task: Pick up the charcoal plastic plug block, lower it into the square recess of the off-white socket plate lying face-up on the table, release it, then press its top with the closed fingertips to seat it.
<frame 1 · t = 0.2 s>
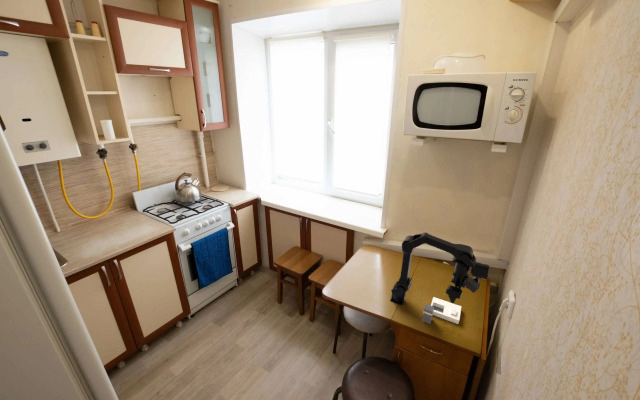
hand: (454, 297, 135), 14 cm above the table, fingers open, 9 cm apart
socket plate: (444, 311, 145), on the table
plug: (426, 320, 139), on the table
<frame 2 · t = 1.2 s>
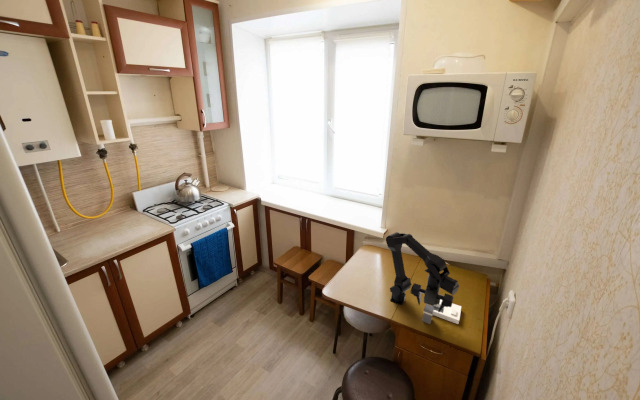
hand: (428, 308, 137), 8 cm above the table, fingers open, 9 cm apart
nothing on the table moved.
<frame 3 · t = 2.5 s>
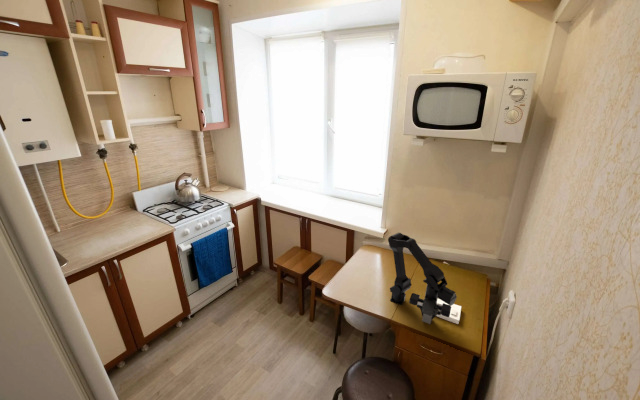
hand: (427, 317, 139), 2 cm above the table, fingers closed on plug, 4 cm apart
plug: (426, 320, 139), on the table, touching gripper
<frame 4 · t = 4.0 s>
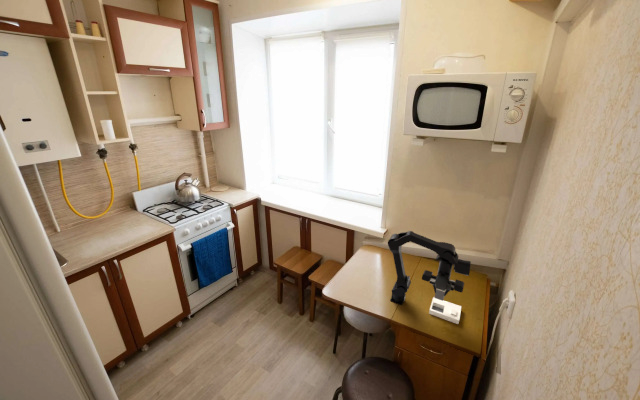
hand: (440, 294, 140), 12 cm above the table, fingers closed on plug, 4 cm apart
plug: (439, 297, 140), point 10 cm above the table, touching gripper
when the fingers open (3 cm above the table, at t = 5.7 s): plug drops 1 cm, resting on socket plate.
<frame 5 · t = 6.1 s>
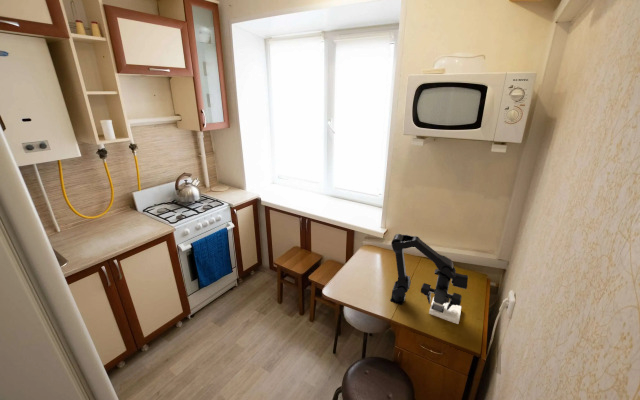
hand: (438, 306, 144), 3 cm above the table, fingers open, 8 cm apart
plug: (437, 310, 145), resting on socket plate
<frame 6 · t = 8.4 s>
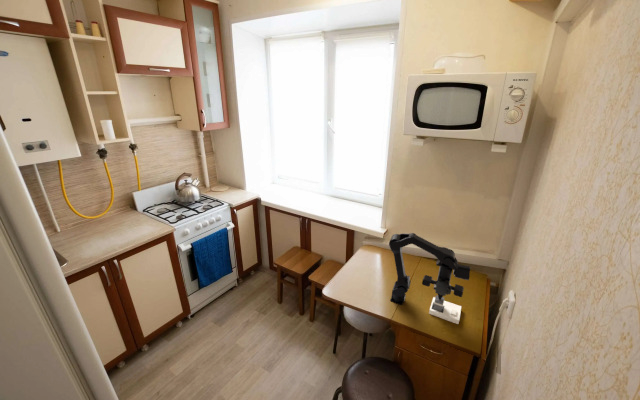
hand: (439, 298, 142), 8 cm above the table, fingers closed
nothing on the table moved.
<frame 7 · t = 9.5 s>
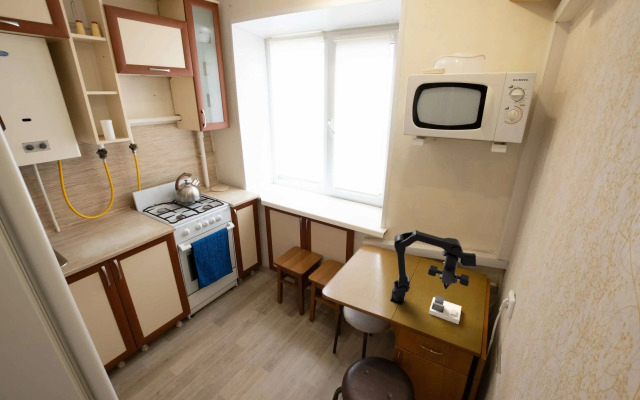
hand: (445, 288, 143), 12 cm above the table, fingers closed
nothing on the table moved.
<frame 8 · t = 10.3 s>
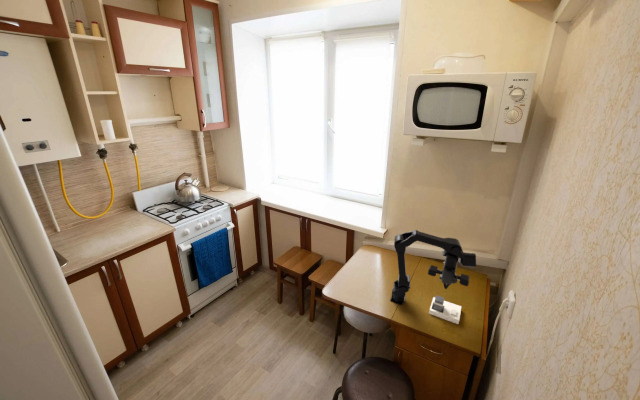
hand: (445, 288, 143), 12 cm above the table, fingers closed
nothing on the table moved.
at the end: plug 0.1 cm from the target spot on the socket plate, point 0.2 cm above the socket plate's base; plug tilted 0°; the gripper is holding nothing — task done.
